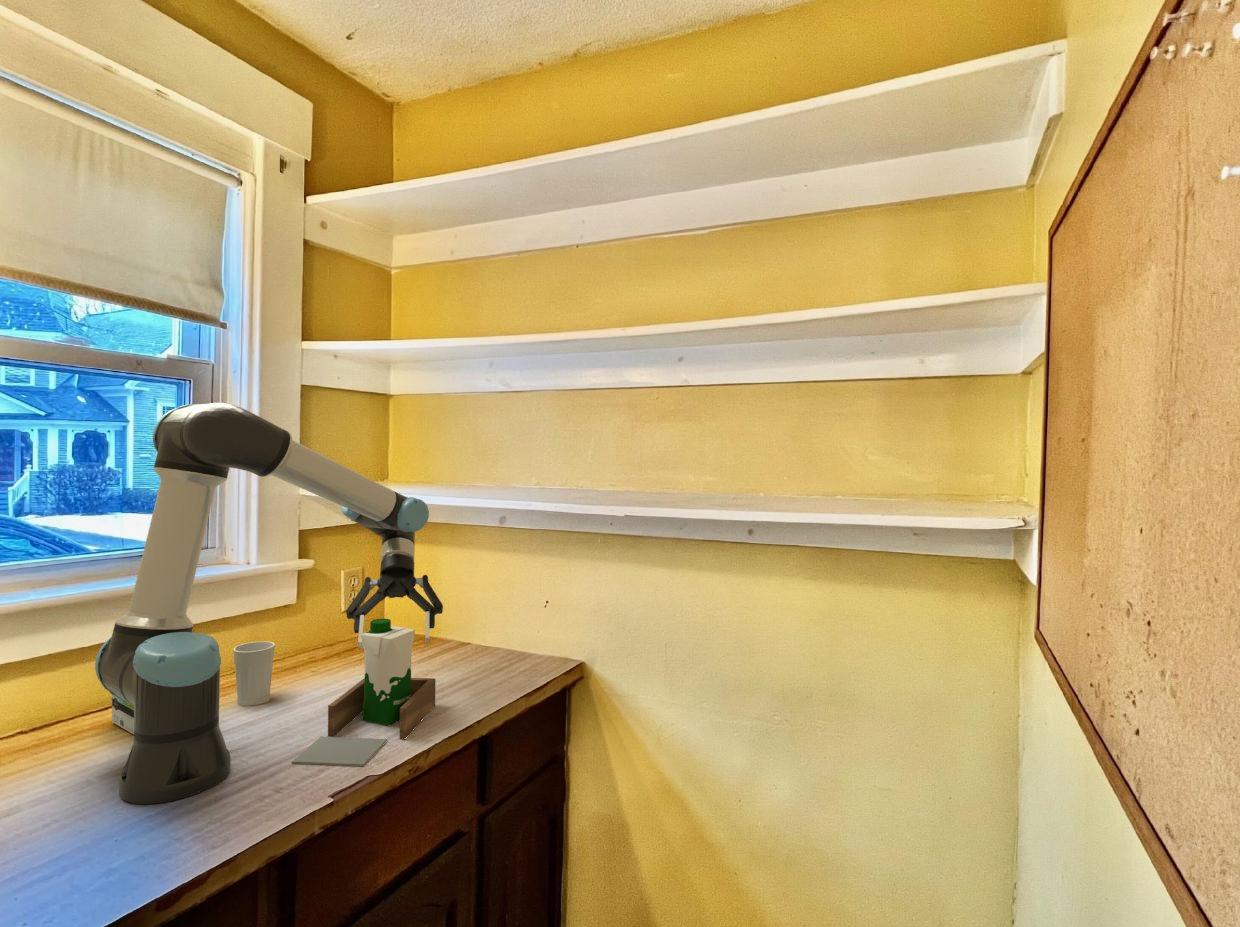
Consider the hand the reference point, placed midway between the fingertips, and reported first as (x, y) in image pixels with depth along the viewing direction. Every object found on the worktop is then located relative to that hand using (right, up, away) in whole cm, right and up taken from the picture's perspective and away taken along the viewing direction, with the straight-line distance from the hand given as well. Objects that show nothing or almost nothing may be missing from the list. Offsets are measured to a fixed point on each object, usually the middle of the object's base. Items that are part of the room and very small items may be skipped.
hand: (394, 643), depth 135 cm
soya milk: (0, -15, -3) cm, 15 cm away
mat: (-3, -15, -19) cm, 24 cm away
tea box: (-45, -14, -9) cm, 48 cm away
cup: (-33, -14, +4) cm, 36 cm away
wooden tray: (0, -15, -5) cm, 15 cm away
